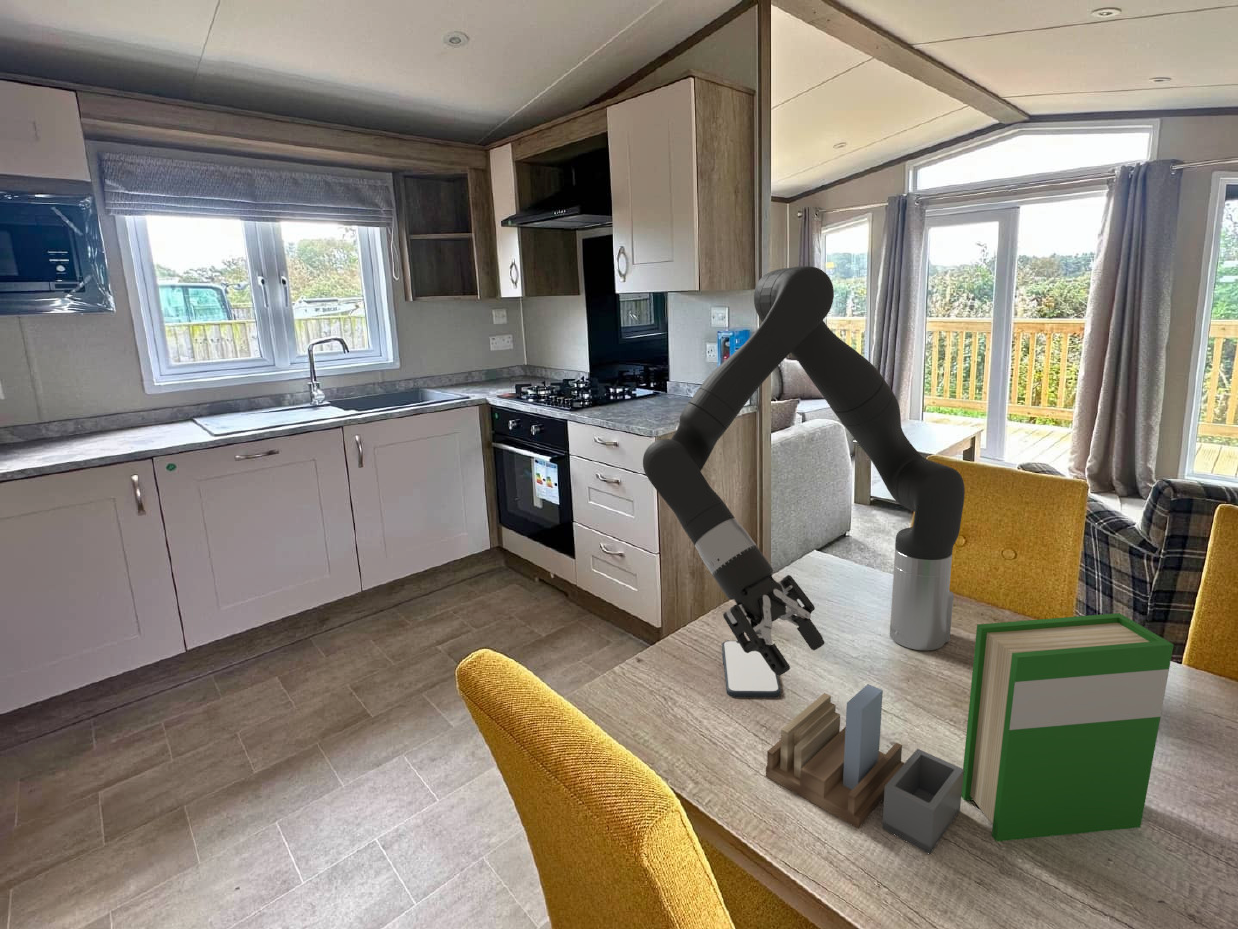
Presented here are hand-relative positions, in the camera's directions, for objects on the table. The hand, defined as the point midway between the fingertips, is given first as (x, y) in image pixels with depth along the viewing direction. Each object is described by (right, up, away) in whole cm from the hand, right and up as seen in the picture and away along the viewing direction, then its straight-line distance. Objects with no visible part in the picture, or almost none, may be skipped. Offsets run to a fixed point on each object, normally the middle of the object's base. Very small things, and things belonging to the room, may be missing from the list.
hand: (802, 659), depth 89 cm
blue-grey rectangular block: (+7, -14, -3) cm, 16 cm away
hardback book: (+28, -16, -7) cm, 33 cm away
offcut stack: (+2, -13, +2) cm, 14 cm away
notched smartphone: (-2, -10, +26) cm, 27 cm away
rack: (+4, -15, 0) cm, 16 cm away
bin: (+12, -17, -8) cm, 23 cm away
